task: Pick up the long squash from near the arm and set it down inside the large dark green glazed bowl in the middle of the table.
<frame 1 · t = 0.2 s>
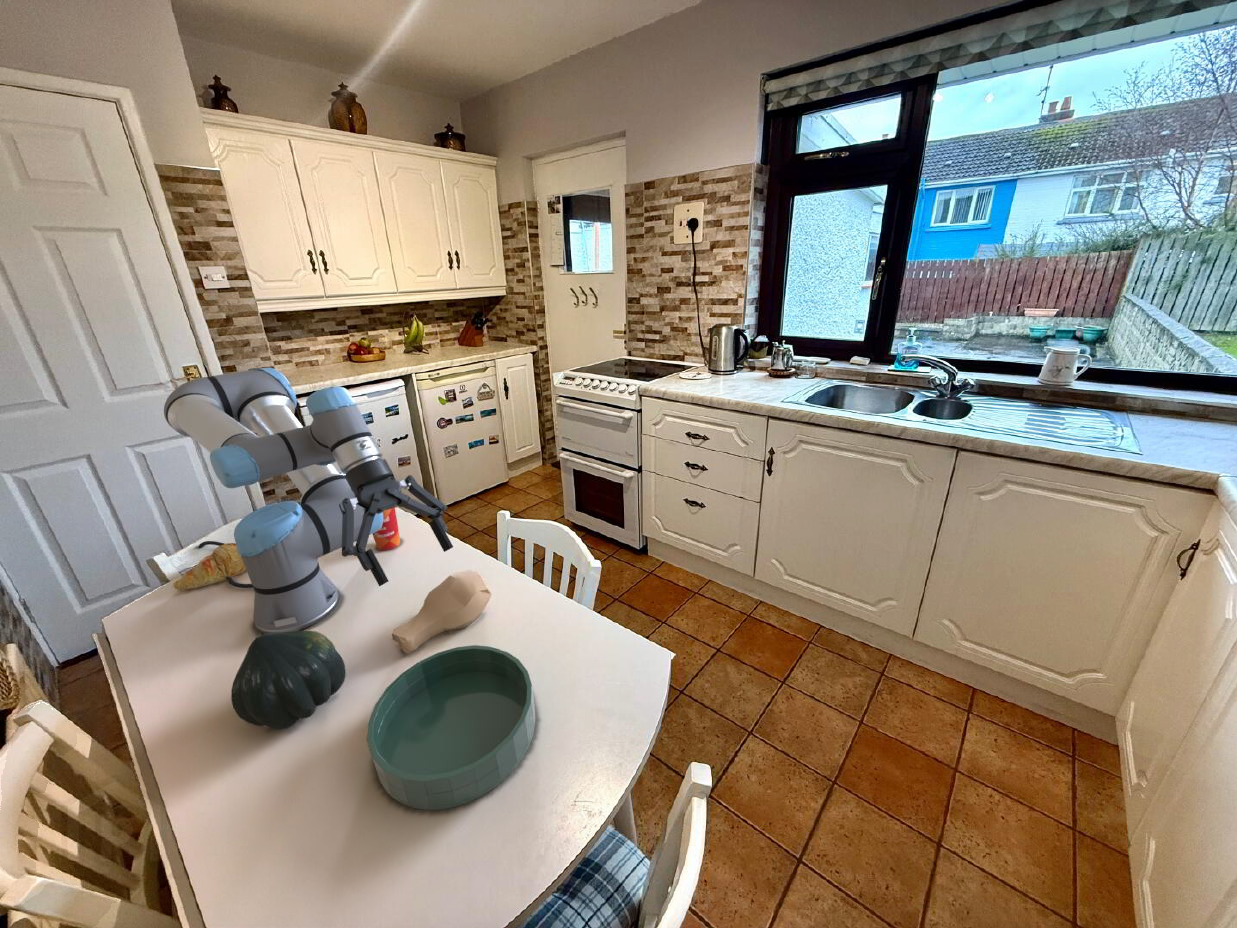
hand: (418, 565, 90), 15 cm above the table, tool tilted 35°, fingers open, 13 cm apart
croissant: (230, 570, 117), on the table
bowl: (459, 730, 76), on the table
paper cup: (389, 545, 126), on the table
squash: (447, 626, 98), on the table
squash 2: (299, 704, 81), on the table
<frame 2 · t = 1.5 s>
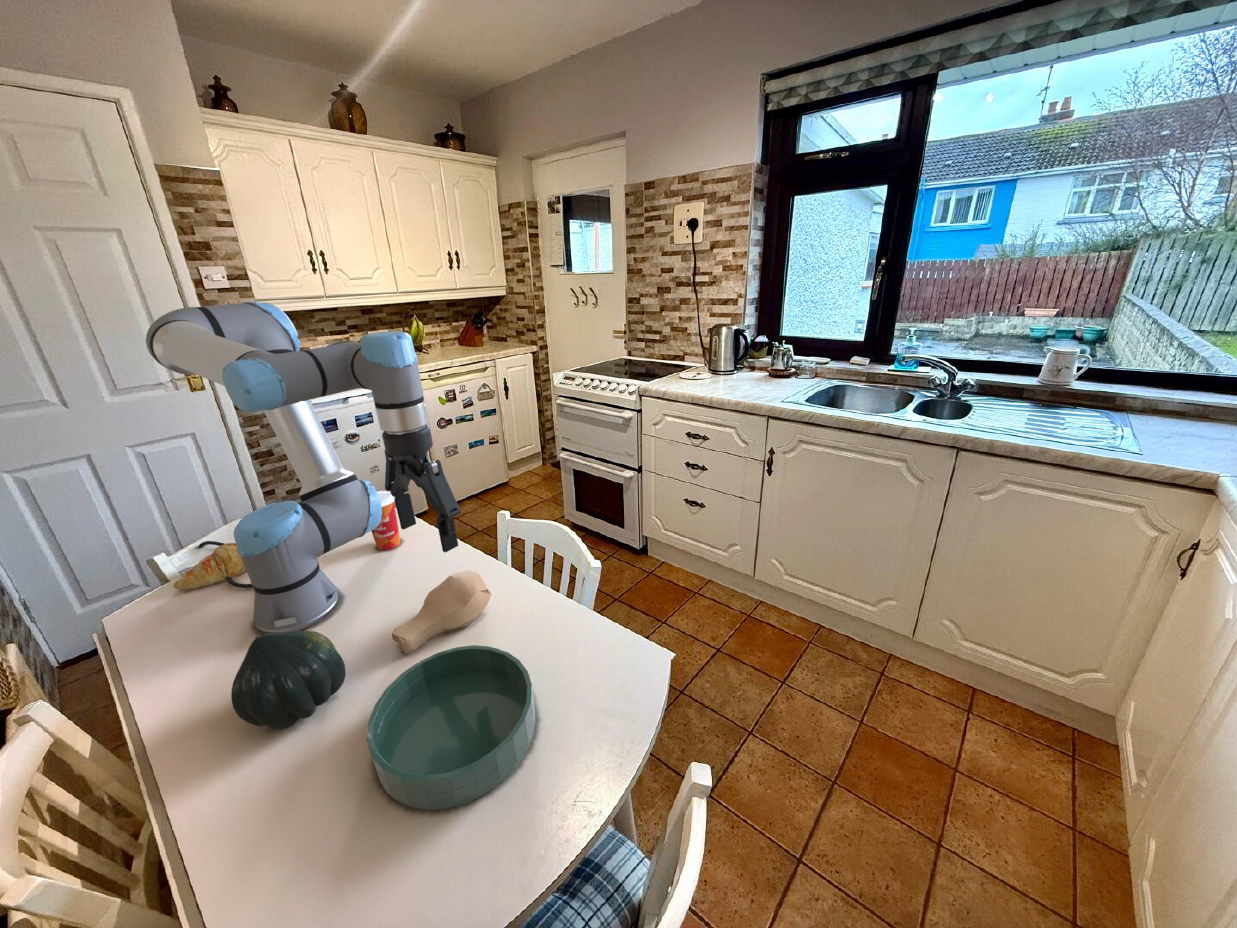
hand: (428, 537, 89), 21 cm above the table, tool pointing down, fingers open, 13 cm apart
nothing on the table moved.
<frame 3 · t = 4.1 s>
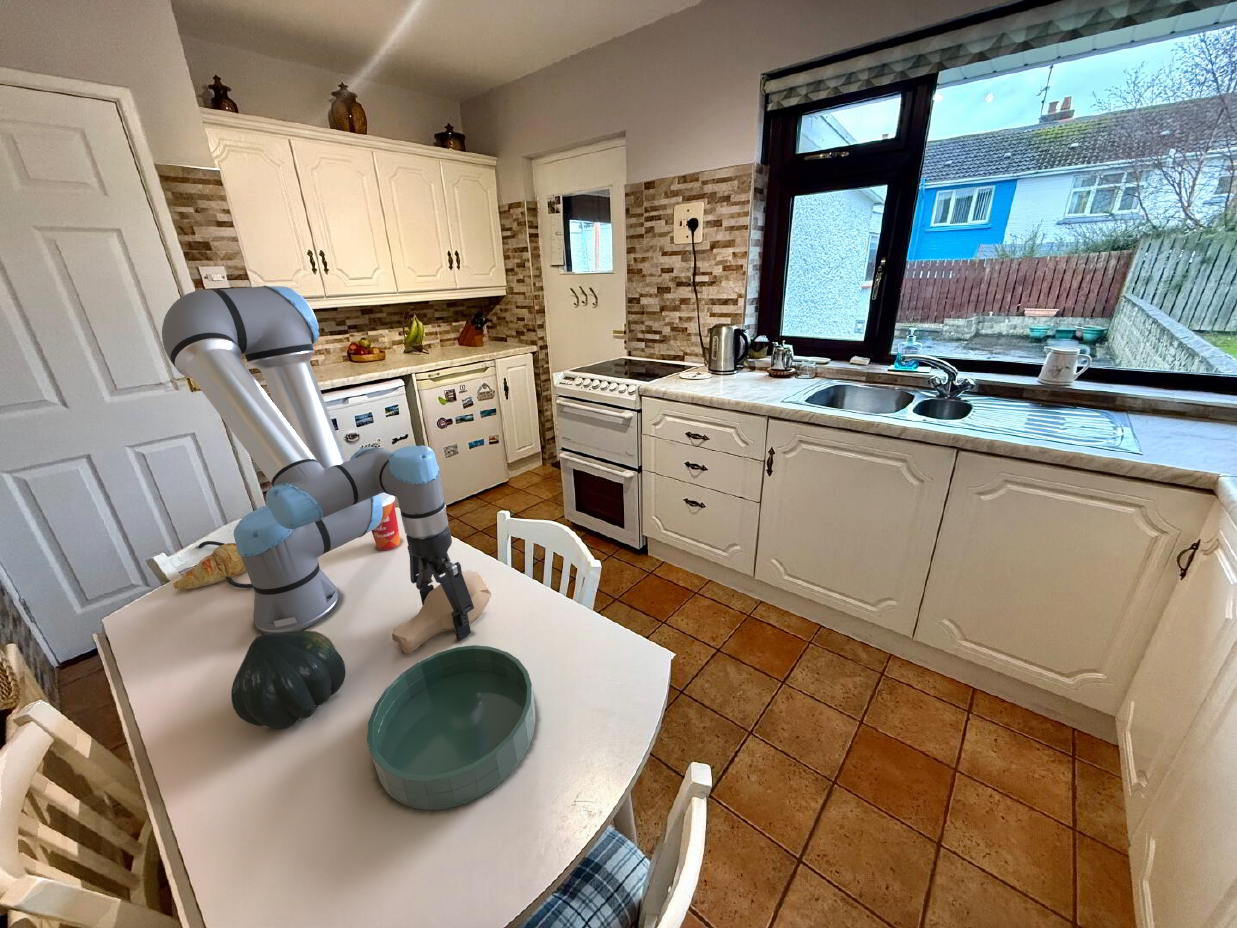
hand: (447, 624, 97), 0 cm above the table, tool pointing down, fingers closed on squash, 10 cm apart
squash: (447, 626, 98), on the table, touching gripper
everything else where it was.
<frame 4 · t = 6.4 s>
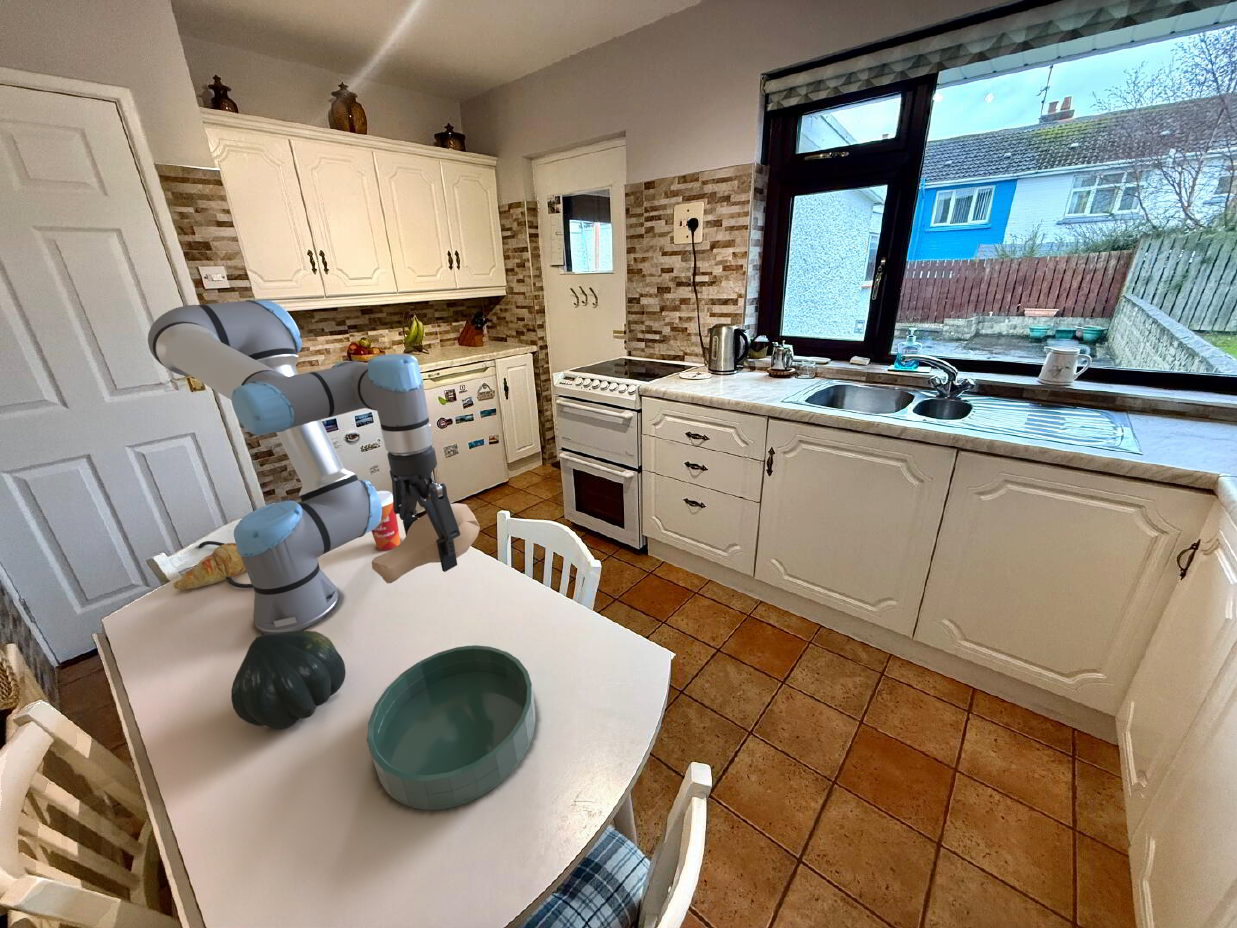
hand: (432, 557, 91), 16 cm above the table, tool pointing down, fingers closed on squash, 10 cm apart
squash: (433, 559, 91), point 16 cm above the table, touching gripper
everything else where it was.
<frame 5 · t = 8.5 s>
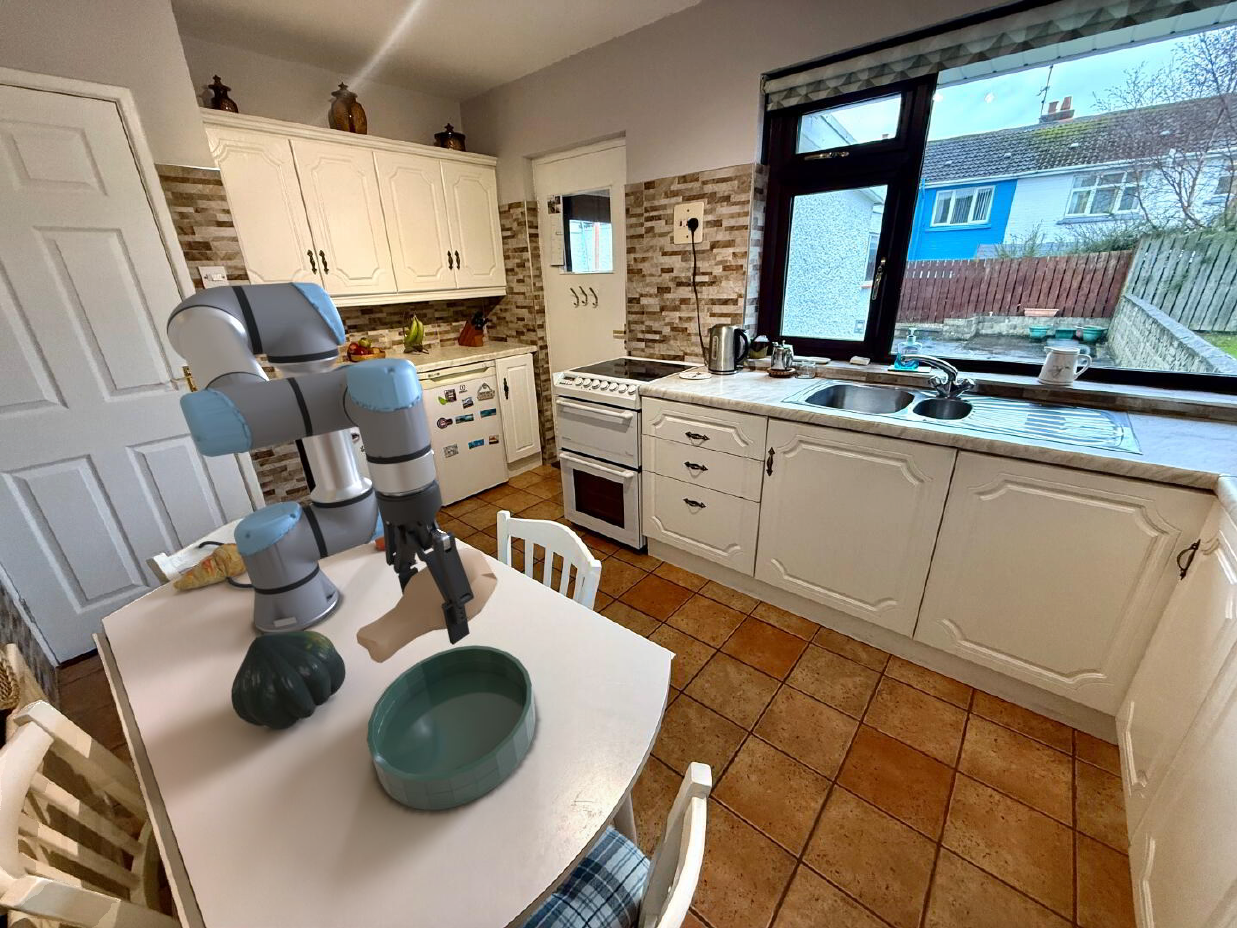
hand: (437, 622, 70), 19 cm above the table, tool pointing down, fingers closed on squash, 10 cm apart
squash: (438, 624, 70), point 19 cm above the table, touching gripper
everything else where it was.
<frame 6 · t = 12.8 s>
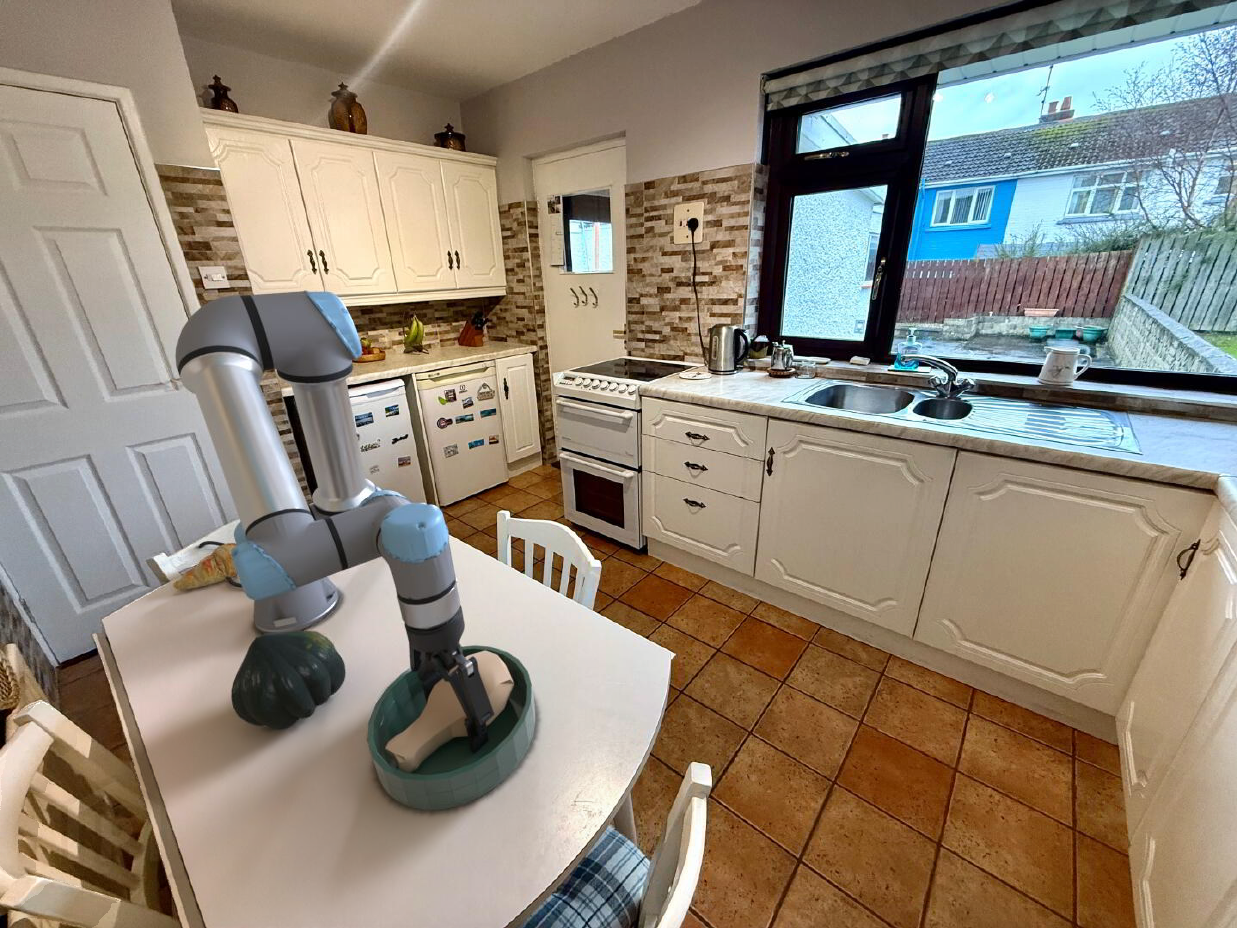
hand: (458, 726, 75), 1 cm above the table, tool pointing down, fingers closed on squash, 10 cm apart
squash: (458, 727, 75), point 1 cm above the table, touching bowl, gripper
everything else where it was.
when the fingers open (1 cm above the table, at t = 13.1 s): squash stays where it is, resting on bowl.
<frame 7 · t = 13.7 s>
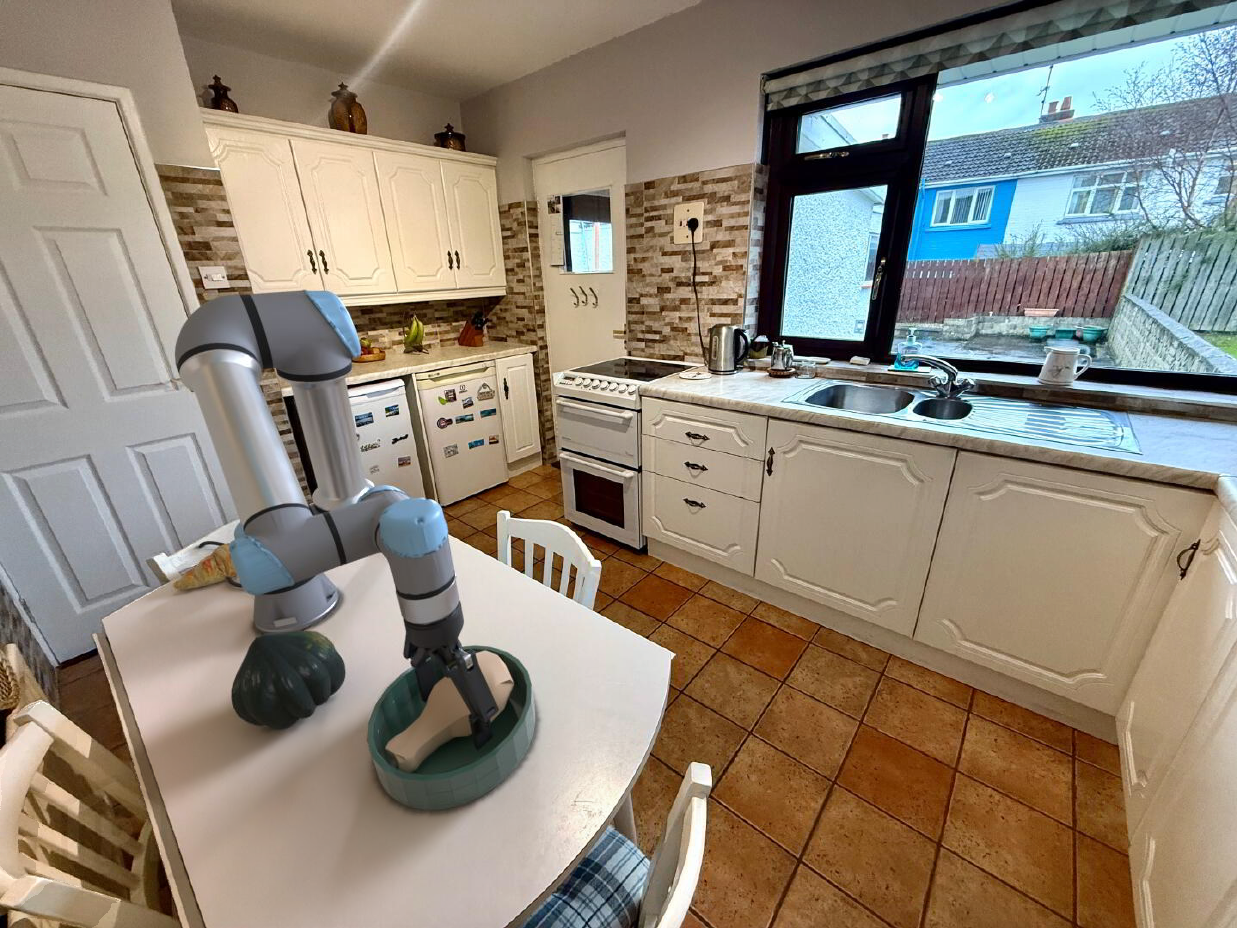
hand: (456, 717, 75), 3 cm above the table, tool pointing down, fingers open, 13 cm apart
squash: (458, 727, 75), point 1 cm above the table, touching bowl
everything else where it was.
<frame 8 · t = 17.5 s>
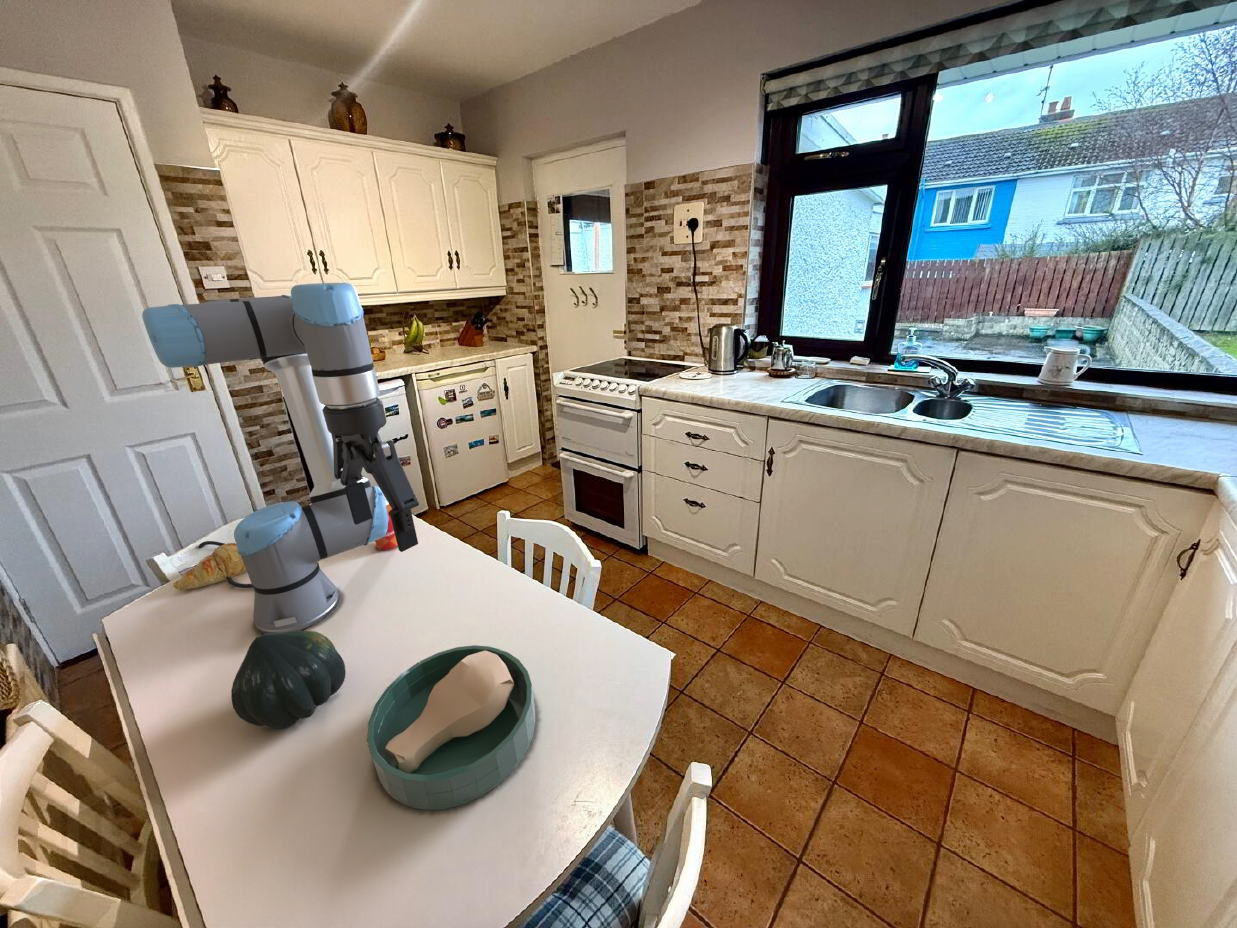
hand: (385, 533, 76), 29 cm above the table, tool pointing down, fingers open, 13 cm apart
nothing on the table moved.
at the end: squash inside the target area in the bowl (0.0 cm from its centre), point 0.6 cm above the bowl's base; the gripper is holding nothing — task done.
